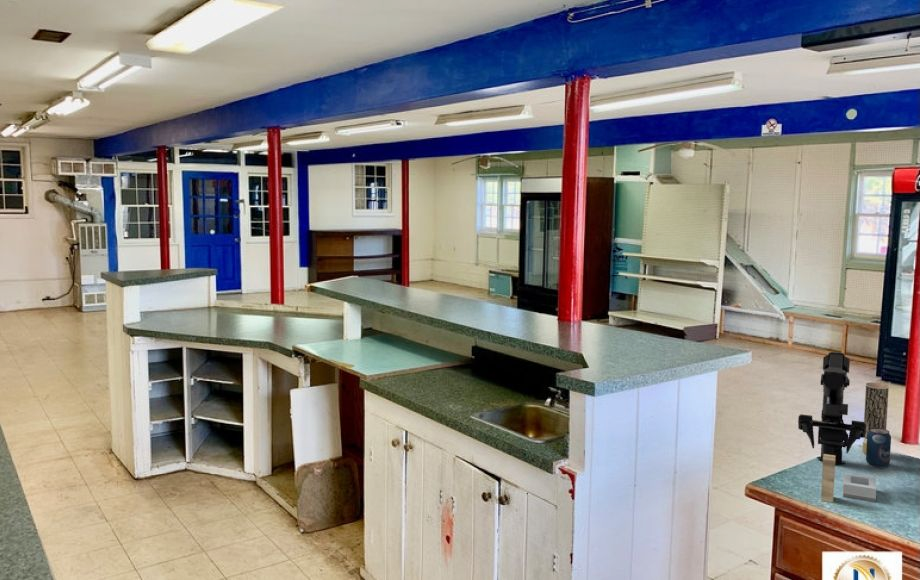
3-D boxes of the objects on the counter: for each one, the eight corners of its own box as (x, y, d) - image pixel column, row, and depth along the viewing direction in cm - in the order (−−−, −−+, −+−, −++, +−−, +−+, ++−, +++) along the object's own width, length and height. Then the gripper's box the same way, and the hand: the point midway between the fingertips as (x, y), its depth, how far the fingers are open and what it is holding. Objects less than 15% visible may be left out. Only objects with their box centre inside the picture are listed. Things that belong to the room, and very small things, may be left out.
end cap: (843, 484, 220) (844, 472, 220) (874, 489, 216) (875, 477, 215) (843, 496, 211) (843, 483, 211) (875, 501, 207) (876, 489, 207)
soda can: (883, 470, 231) (885, 435, 230) (861, 464, 237) (863, 430, 235) (893, 465, 235) (895, 430, 234) (871, 459, 241) (873, 425, 239)
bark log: (862, 449, 250) (866, 381, 247) (884, 452, 247) (888, 383, 244) (862, 455, 245) (865, 386, 242) (884, 458, 241) (888, 388, 238)
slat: (821, 494, 213) (823, 453, 211) (833, 496, 211) (835, 455, 210) (820, 500, 209) (822, 458, 208) (833, 502, 208) (835, 460, 206)
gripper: (799, 389, 222) (795, 433, 214) (867, 396, 213) (866, 442, 205) (800, 407, 230) (796, 450, 221) (865, 414, 221) (864, 459, 212)
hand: (829, 450), depth 215 cm, fingers open, 9 cm apart
